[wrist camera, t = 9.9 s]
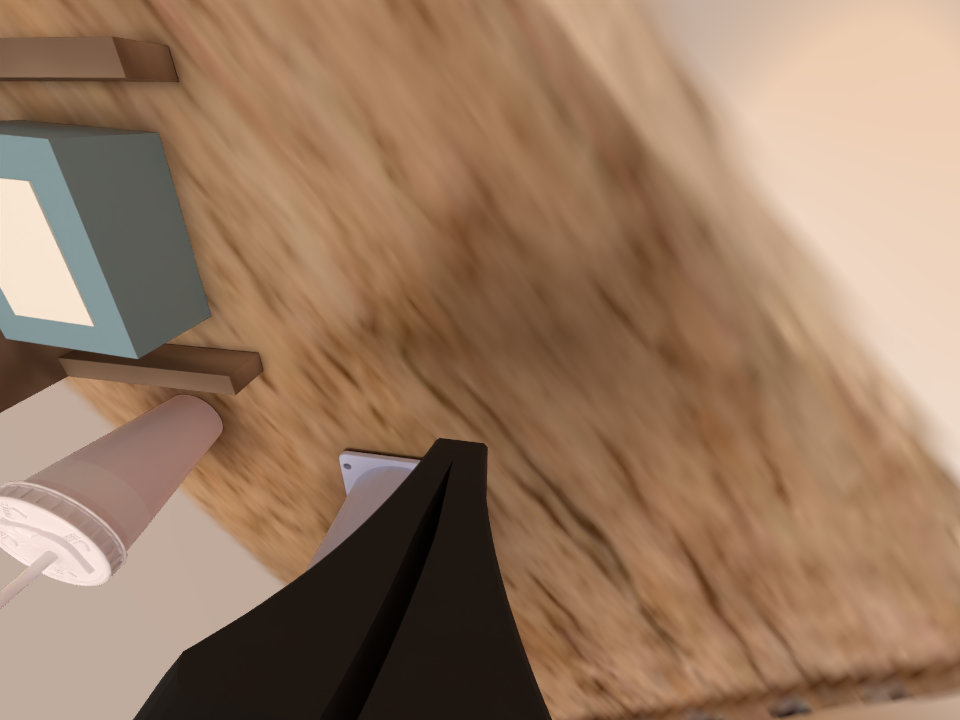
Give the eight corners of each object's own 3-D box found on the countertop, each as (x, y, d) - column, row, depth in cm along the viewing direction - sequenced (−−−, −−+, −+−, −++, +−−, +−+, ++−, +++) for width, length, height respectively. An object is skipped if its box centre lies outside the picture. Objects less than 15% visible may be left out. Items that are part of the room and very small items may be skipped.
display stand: (263, 370, 25) (186, 437, 20) (91, 352, 26) (-22, 410, 21) (167, 45, 17) (-1, 18, 12) (-69, 48, 19) (-307, 24, 14)
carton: (213, 314, 24) (136, 360, 19) (102, 298, 24) (3, 339, 20) (162, 132, 19) (45, 139, 15) (26, 120, 20) (-124, 122, 15)
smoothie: (222, 468, 30) (1, 702, 18) (138, 415, 29) (-162, 631, 17) (257, 419, 27) (18, 662, 15) (165, 357, 26) (-179, 571, 14)
